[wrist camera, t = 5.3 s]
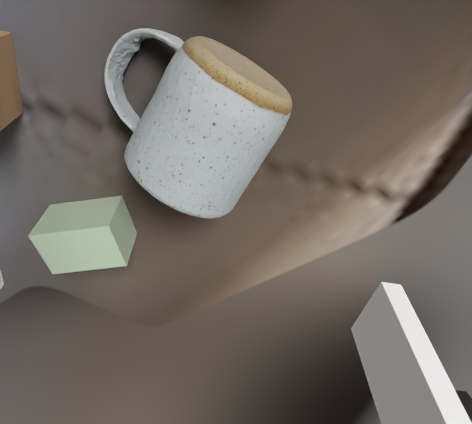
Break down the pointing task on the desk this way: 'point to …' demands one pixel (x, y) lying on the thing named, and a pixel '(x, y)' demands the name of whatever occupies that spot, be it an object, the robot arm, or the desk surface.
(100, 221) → the sage green block
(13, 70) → the walnut block
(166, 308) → the desk surface
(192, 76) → the ceramic mug
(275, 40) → the desk surface
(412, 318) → the robot arm
